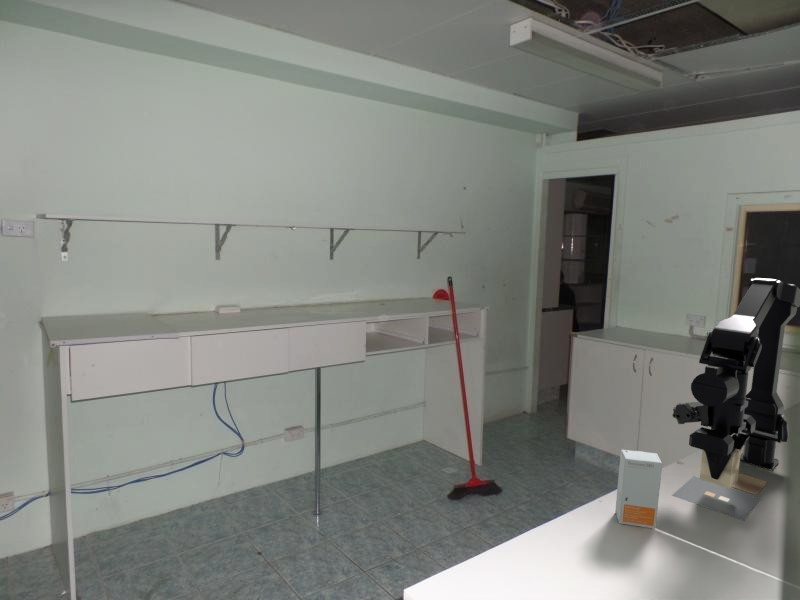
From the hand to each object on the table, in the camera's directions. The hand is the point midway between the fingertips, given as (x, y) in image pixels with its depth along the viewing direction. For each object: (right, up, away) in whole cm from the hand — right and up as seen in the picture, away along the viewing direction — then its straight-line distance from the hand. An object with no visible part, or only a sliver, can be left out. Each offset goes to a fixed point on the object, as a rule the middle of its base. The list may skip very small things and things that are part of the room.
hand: (719, 474), depth 100 cm
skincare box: (-19, -6, -8) cm, 22 cm away
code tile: (0, -5, +1) cm, 5 cm away
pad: (+8, -4, +7) cm, 12 cm away
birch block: (0, -1, 0) cm, 1 cm away
